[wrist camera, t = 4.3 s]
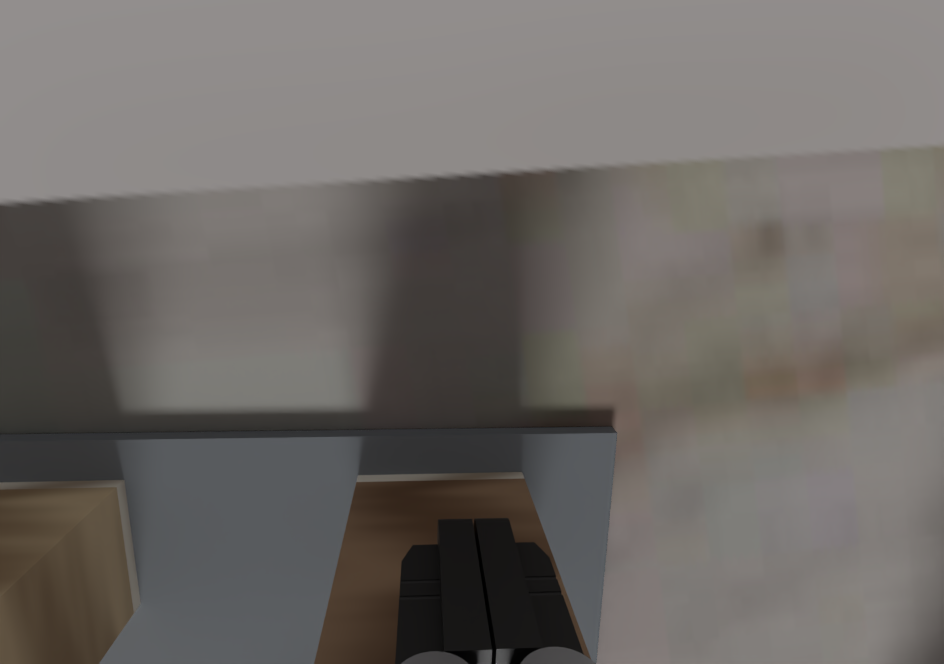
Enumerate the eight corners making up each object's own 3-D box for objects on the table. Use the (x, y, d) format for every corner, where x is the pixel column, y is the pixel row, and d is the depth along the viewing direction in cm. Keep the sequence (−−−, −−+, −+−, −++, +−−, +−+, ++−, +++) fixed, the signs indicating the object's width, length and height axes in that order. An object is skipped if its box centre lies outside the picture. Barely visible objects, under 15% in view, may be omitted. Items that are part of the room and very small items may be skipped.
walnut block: (521, 471, 21) (631, 766, 10) (516, 588, 22) (607, 965, 11) (357, 475, 20) (284, 790, 9) (360, 594, 21) (298, 998, 10)
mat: (611, 426, 21) (617, 432, 20) (579, 795, 25) (582, 809, 25) (-170, 436, 19) (-189, 444, 18) (-63, 843, 23) (-76, 859, 22)
